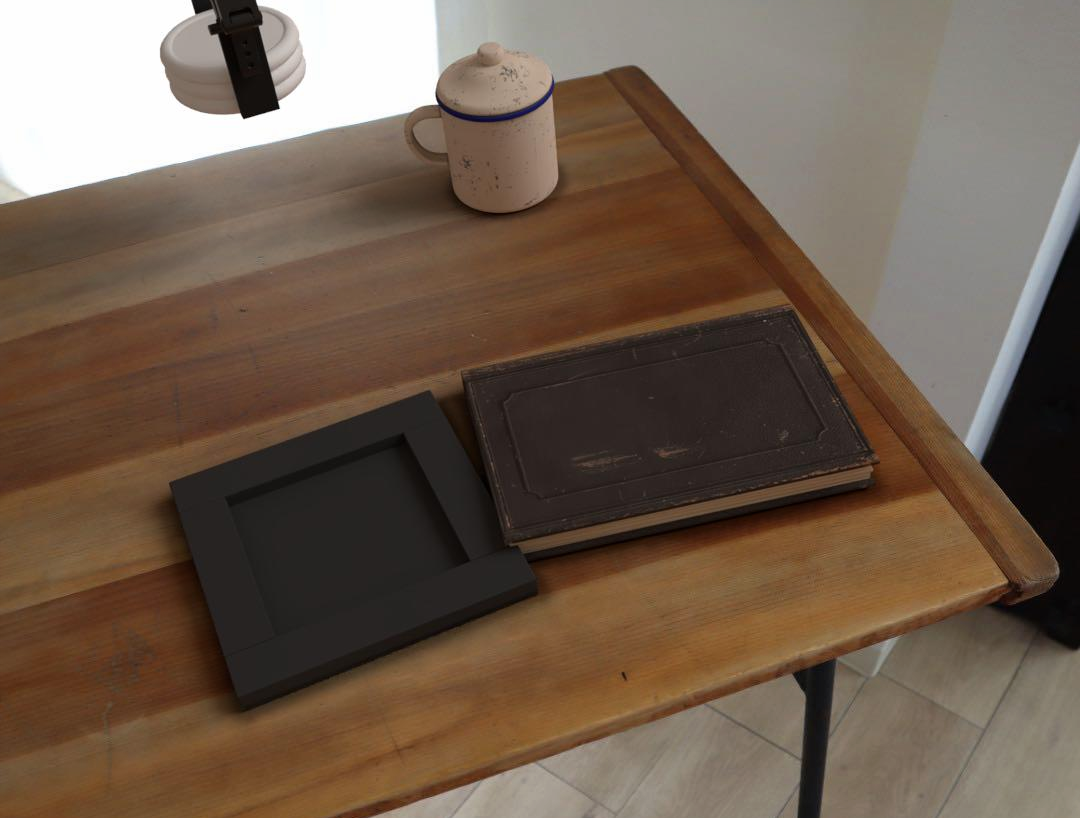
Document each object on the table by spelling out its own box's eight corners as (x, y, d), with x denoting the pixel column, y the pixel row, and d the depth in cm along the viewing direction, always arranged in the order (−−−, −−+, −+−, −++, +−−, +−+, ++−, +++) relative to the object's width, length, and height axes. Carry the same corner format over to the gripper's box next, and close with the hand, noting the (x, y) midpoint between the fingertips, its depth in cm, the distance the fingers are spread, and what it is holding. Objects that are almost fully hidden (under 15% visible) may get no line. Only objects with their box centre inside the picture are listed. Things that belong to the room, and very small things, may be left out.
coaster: (335, 74, 87) (325, 28, 84) (226, 134, 82) (212, 87, 80) (252, 33, 91) (240, -12, 89) (145, 88, 87) (129, 42, 84)
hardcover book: (874, 486, 72) (880, 460, 70) (508, 566, 70) (504, 541, 69) (785, 324, 82) (788, 298, 81) (463, 390, 81) (459, 365, 79)
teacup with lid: (559, 147, 99) (548, 11, 90) (564, 211, 93) (553, 73, 84) (417, 160, 99) (392, 26, 90) (413, 225, 93) (387, 88, 84)
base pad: (175, 497, 77) (168, 481, 75) (433, 405, 80) (430, 388, 79) (244, 712, 66) (236, 697, 64) (539, 594, 69) (537, 578, 68)
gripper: (252, -234, 63) (335, 137, 81) (163, -335, 77) (251, 0, 94) (115, -203, 62) (229, 168, 79) (49, -312, 75) (159, 25, 93)
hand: (241, 77), depth 87 cm, fingers closed on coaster, 10 cm apart
